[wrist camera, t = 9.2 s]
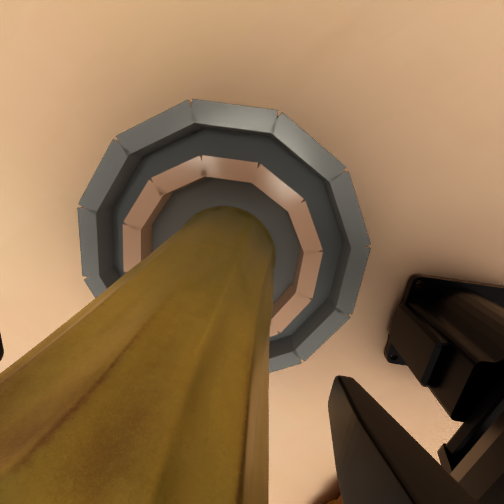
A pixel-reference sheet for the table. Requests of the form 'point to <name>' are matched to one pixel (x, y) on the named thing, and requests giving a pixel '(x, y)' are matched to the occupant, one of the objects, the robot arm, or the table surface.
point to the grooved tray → (235, 195)
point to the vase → (152, 381)
